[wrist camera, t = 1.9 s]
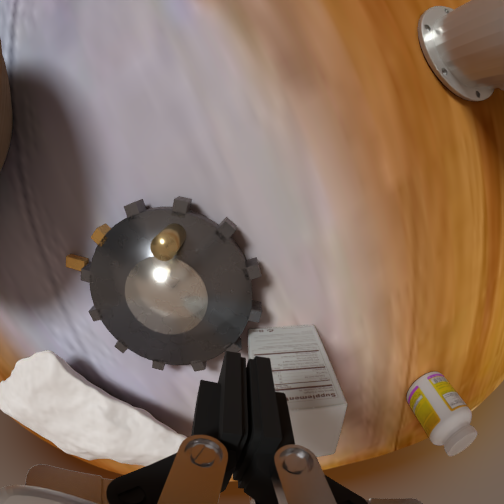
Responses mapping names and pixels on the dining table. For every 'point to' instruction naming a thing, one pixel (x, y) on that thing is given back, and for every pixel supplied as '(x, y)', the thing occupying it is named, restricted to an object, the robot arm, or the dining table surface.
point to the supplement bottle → (441, 412)
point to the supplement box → (303, 383)
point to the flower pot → (4, 111)
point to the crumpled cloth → (82, 414)
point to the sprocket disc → (172, 284)
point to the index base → (76, 262)
